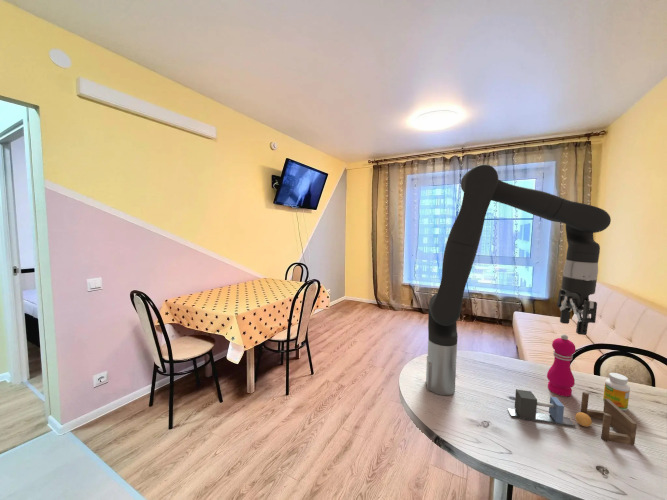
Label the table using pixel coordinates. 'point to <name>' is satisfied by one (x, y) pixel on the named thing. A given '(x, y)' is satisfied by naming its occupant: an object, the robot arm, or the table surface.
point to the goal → (612, 421)
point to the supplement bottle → (617, 390)
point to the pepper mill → (561, 367)
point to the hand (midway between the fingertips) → (572, 328)
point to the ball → (583, 419)
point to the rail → (543, 418)
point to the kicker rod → (528, 405)
